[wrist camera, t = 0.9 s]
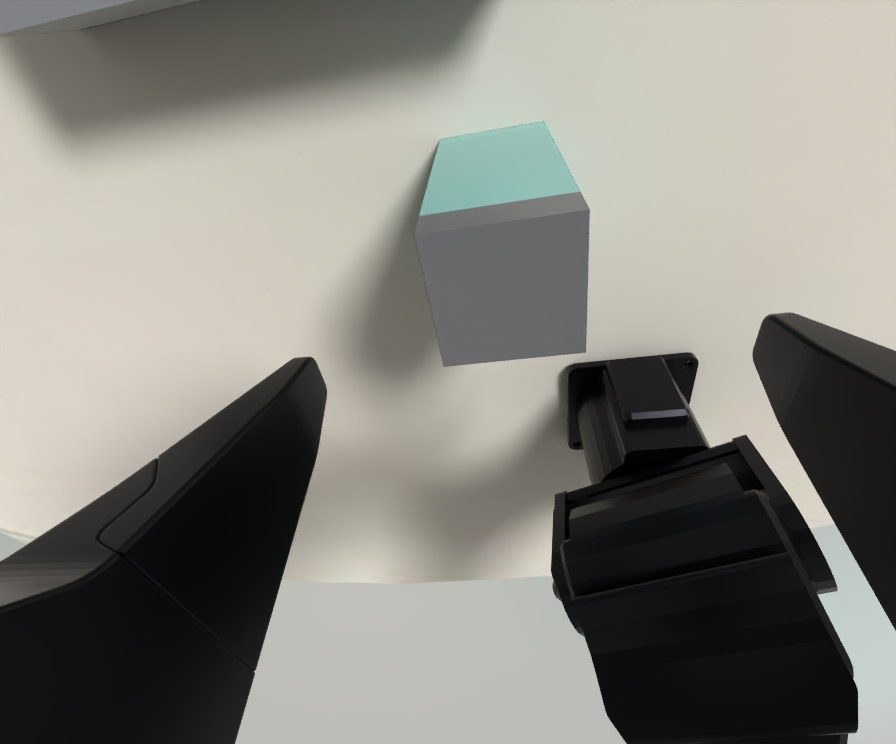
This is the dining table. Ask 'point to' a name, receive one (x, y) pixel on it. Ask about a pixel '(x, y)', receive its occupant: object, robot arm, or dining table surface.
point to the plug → (504, 248)
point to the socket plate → (71, 13)
